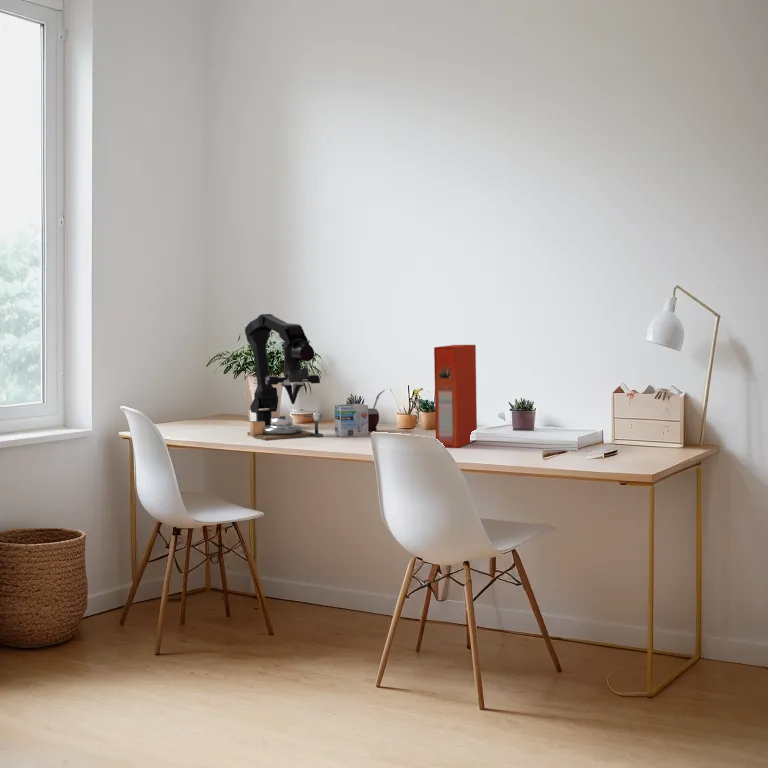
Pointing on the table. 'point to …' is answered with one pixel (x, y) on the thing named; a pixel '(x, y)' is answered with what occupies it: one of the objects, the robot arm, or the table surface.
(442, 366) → the file binder
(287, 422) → the cover
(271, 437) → the plinth
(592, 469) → the table surface
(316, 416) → the stand
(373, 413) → the mate gourd
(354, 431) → the light bulb box
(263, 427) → the turntable
